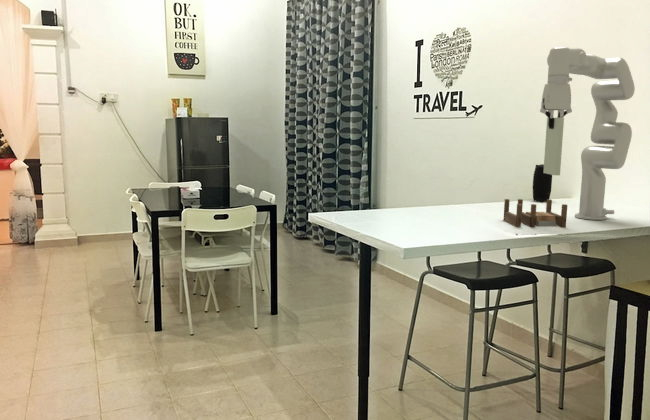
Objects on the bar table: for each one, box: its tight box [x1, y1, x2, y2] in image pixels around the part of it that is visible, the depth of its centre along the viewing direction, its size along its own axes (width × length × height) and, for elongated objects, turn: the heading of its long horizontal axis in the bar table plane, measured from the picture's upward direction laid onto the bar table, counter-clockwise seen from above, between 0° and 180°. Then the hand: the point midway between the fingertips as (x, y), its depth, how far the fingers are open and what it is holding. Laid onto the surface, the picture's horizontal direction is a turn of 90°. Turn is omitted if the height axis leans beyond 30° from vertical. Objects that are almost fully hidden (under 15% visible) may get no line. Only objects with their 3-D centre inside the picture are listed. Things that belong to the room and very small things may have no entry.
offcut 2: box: [535, 220, 557, 227], centre depth 225 cm, size 8×10×2 cm
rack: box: [503, 198, 568, 228], centre depth 224 cm, size 19×16×10 cm
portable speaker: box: [532, 163, 553, 203], centre depth 298 cm, size 9×9×20 cm
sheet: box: [543, 117, 565, 176], centre depth 220 cm, size 2×11×22 cm, turn 1°
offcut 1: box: [525, 211, 555, 221], centre depth 225 cm, size 8×10×2 cm
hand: (554, 128), depth 219 cm, fingers closed on sheet, 2 cm apart
